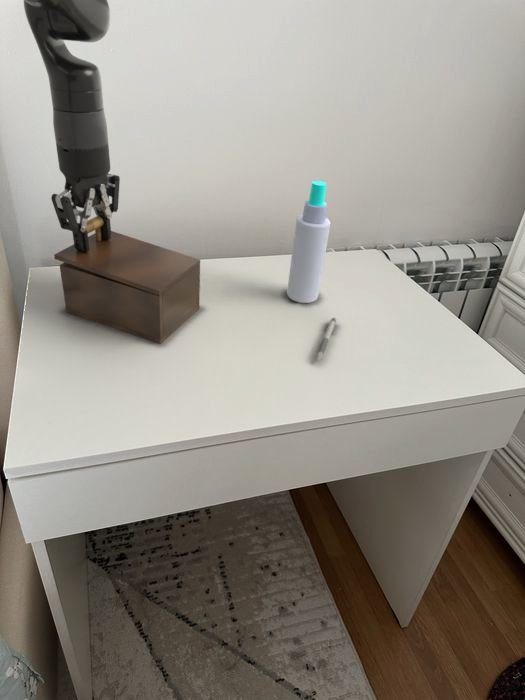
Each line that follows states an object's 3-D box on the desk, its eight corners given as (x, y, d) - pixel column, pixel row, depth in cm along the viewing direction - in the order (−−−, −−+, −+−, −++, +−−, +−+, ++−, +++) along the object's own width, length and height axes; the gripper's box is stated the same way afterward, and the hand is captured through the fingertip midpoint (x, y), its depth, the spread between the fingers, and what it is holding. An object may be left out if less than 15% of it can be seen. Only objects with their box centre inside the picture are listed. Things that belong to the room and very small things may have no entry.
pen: (336, 323, 96) (337, 316, 95) (319, 366, 85) (321, 359, 84) (330, 321, 96) (332, 315, 95) (313, 364, 85) (314, 357, 84)
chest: (66, 311, 91) (59, 264, 86) (112, 281, 101) (108, 237, 96) (160, 344, 86) (159, 296, 81) (199, 308, 96) (200, 264, 91)
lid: (54, 259, 86) (51, 230, 83) (104, 232, 96) (102, 205, 93) (159, 295, 81) (159, 266, 78) (200, 263, 91) (201, 236, 88)
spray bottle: (323, 296, 104) (343, 184, 91) (306, 307, 100) (324, 191, 87) (298, 285, 106) (314, 174, 94) (280, 295, 102) (294, 181, 90)
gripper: (92, 126, 86) (102, 226, 96) (27, 145, 75) (45, 255, 85) (131, 134, 84) (137, 235, 94) (70, 155, 73) (84, 267, 83)
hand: (93, 244), depth 90 cm, fingers closed on lid, 5 cm apart
